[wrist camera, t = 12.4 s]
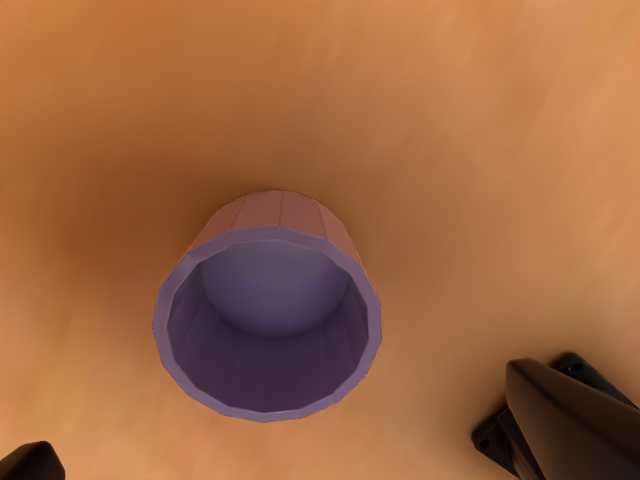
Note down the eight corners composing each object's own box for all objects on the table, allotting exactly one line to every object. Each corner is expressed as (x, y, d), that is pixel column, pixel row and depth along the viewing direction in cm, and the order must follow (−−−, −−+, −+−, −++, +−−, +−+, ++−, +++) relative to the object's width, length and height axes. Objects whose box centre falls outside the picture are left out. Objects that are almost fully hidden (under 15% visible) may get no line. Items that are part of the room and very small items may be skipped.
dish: (389, 257, 15) (426, 317, 11) (288, 363, 16) (287, 452, 12) (261, 153, 13) (246, 176, 9) (161, 280, 15) (108, 351, 11)
